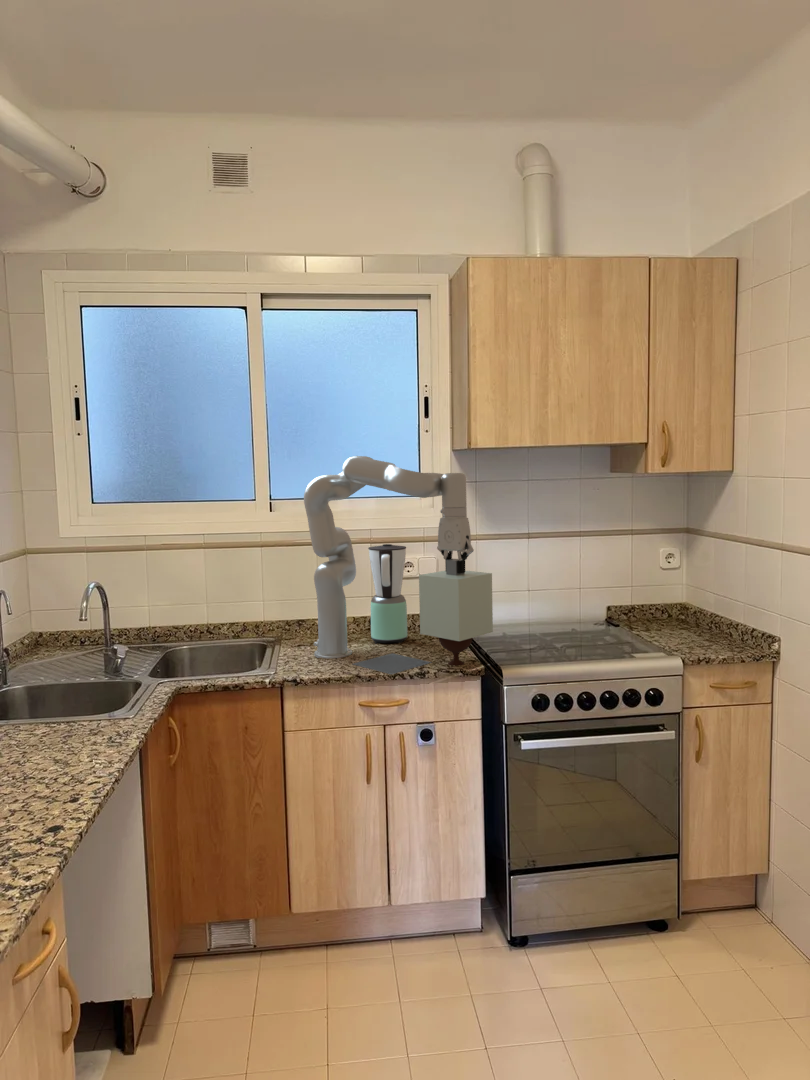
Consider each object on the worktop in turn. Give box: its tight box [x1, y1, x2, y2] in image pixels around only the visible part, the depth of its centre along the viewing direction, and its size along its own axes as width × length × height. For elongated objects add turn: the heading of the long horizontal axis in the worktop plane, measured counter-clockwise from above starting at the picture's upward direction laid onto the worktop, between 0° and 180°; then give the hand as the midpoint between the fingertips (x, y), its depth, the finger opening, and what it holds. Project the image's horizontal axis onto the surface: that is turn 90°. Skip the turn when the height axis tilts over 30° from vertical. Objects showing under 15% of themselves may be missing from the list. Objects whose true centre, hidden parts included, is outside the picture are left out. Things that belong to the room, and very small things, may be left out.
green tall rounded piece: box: [367, 543, 408, 645], centre depth 261 cm, size 19×13×35 cm
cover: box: [418, 558, 494, 641], centre depth 228 cm, size 16×16×23 cm
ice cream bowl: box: [438, 637, 474, 667], centre depth 230 cm, size 11×11×15 cm
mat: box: [352, 653, 433, 675], centre depth 232 cm, size 18×18×1 cm
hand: (455, 571), depth 227 cm, fingers closed on cover, 4 cm apart
